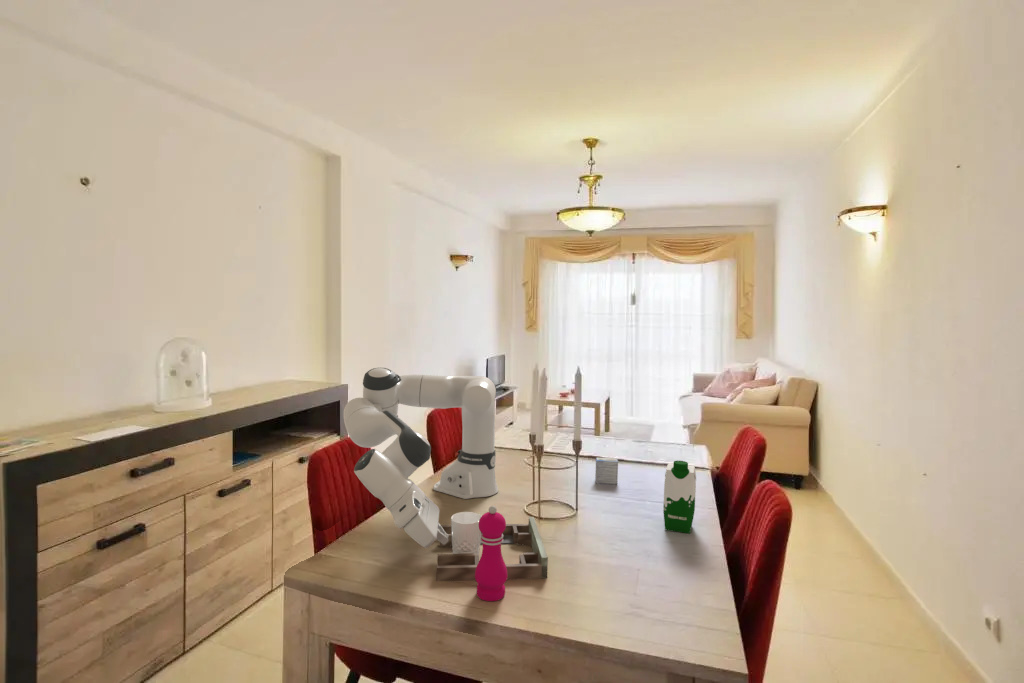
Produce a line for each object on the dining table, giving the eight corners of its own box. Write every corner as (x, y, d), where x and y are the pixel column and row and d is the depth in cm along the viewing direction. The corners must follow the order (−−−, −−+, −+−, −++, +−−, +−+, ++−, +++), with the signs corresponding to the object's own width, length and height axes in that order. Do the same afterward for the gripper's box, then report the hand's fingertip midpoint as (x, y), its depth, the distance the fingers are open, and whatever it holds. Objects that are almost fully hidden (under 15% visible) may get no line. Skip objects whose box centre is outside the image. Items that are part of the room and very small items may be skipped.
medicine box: (616, 481, 206) (617, 458, 205) (617, 484, 201) (618, 461, 201) (595, 479, 206) (595, 457, 206) (595, 483, 202) (596, 460, 201)
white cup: (444, 554, 142) (445, 516, 141) (469, 546, 147) (470, 509, 146) (462, 565, 136) (462, 526, 135) (487, 557, 141) (488, 518, 140)
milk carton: (661, 530, 160) (664, 462, 159) (664, 519, 169) (666, 455, 168) (693, 535, 158) (696, 466, 156) (694, 524, 166) (697, 458, 165)
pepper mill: (499, 605, 118) (501, 514, 117) (468, 598, 121) (470, 508, 120) (511, 589, 125) (514, 503, 124) (482, 583, 128) (484, 498, 126)
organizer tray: (436, 580, 128) (436, 559, 128) (440, 535, 153) (440, 517, 153) (547, 578, 131) (547, 557, 131) (533, 534, 156) (533, 516, 156)
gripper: (403, 497, 149) (439, 532, 150) (394, 527, 129) (435, 568, 130) (420, 481, 149) (456, 516, 151) (414, 508, 129) (455, 549, 130)
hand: (446, 540), depth 140 cm, fingers closed
